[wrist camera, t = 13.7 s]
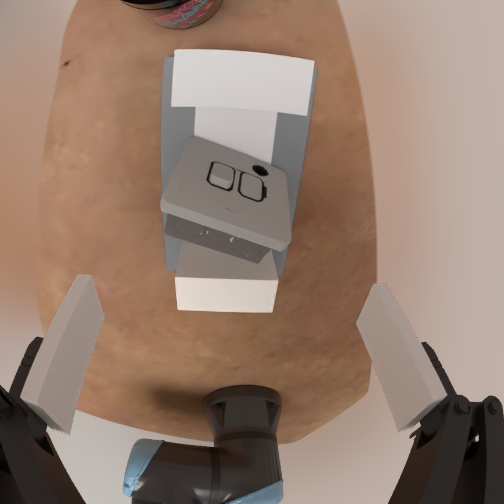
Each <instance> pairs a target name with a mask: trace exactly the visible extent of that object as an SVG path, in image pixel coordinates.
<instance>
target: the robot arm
mask: <svg viewBox="0 0 504 504" xmlns="http://www.w3.org/2000/svg"><path fill="white" fill-rule="evenodd" d="M104 318H105V317H104V314H103V311H102V308H101V305H100V302H99V298H98V295H97V292H96V288H95V285H94V281H93V277H92V275H86V274H78V275H77V276H76V278H75V280H74V281H73V283H72V285H71V287H70V289H69V290H68V292H67V294H66V296H65V298H64V300H63V301H62V303H61V305H60V307H59V309H58V311H57V313H56V315H55V317H54V319H53V321H52V323H51V325H50V327H49V329H48V331H47V333H46V335H45V337H44V338H41V337H36V338H35V339H34V340H33V341H32V342H31V343H30V344H29V346H28V348H27V350H26V352H25V354H24V357H23V359H22V361H21V365H20V366H19V368H18V371H17V373H16V375H15V378H14V380H13V383H12V385H11V388H10V391H9V393H8V392H7V391H6V390H5V389H4V388H3V387H2V386H1V385H0V504H86V503H85V501H84V500H83V498H82V497H81V495H80V493H79V492H78V490H77V489H76V487H75V485H74V483H73V482H72V480H71V478H70V477H69V475H68V473H67V471H66V469H65V468H64V466H63V464H62V462H61V460H60V458H59V456H58V454H57V452H56V450H55V448H54V445H53V443H52V441H51V439H50V437H49V435H48V433H47V432H46V428H47V425H48V426H49V427H50V428H51V429H53V431H56V432H59V433H62V434H66V435H70V431H71V426H72V422H73V417H74V414H75V410H76V406H77V402H78V399H79V395H80V391H81V388H82V384H83V381H84V378H85V374H86V371H87V368H88V365H89V362H90V358H91V355H92V352H93V349H94V346H95V343H96V341H97V338H98V335H99V332H100V329H101V327H102V324H103V321H104ZM356 325H357V327H358V330H359V332H360V334H361V337H362V339H363V341H364V344H365V346H366V348H367V351H368V353H369V356H370V358H371V361H372V363H373V366H374V368H375V370H376V373H377V375H378V378H379V381H380V383H381V386H382V388H383V391H384V394H385V396H386V399H387V402H388V404H389V407H390V410H391V412H392V415H393V418H394V421H395V423H396V427H397V429H398V432H400V431H403V430H406V429H409V428H412V427H413V426H415V425H416V424H417V423H418V422H419V421H420V424H421V427H419V428H418V429H417V430H416V431H414V432H413V433H412V434H411V435H410V437H409V438H412V437H413V436H415V435H416V437H415V439H414V443H413V446H412V449H411V452H410V454H409V457H408V459H407V462H406V465H405V467H404V469H403V472H402V474H401V476H400V479H399V481H398V483H397V485H396V488H395V490H394V492H393V494H392V496H391V498H390V500H389V503H388V504H504V415H503V408H502V404H501V402H500V401H499V399H498V398H496V397H495V396H488V397H487V398H486V399H484V400H483V401H482V402H470V401H469V400H468V399H467V398H466V397H464V396H463V395H457V394H456V392H455V390H454V388H453V386H452V384H451V382H450V380H449V378H448V376H447V374H446V373H445V370H444V369H443V368H442V365H441V363H440V361H438V357H437V355H436V354H435V352H434V350H433V349H432V348H431V347H430V346H429V345H428V344H427V343H426V342H422V343H421V342H420V341H419V339H418V337H417V335H416V333H415V332H414V330H413V328H412V326H411V325H410V323H409V321H408V319H407V318H406V316H405V314H404V312H403V311H402V309H401V308H400V306H399V304H398V302H397V301H396V299H395V298H394V296H393V294H392V293H391V291H390V289H389V288H388V286H387V285H386V284H373V285H372V288H371V290H370V292H369V295H368V297H367V299H366V302H365V304H364V306H363V308H362V311H361V313H360V315H359V317H358V320H357V322H356ZM281 408H282V406H281V399H280V396H279V395H278V394H277V393H276V392H275V391H273V390H271V389H268V388H264V387H258V386H234V387H228V388H223V389H220V390H217V391H215V392H213V393H211V394H210V395H208V396H207V397H206V399H205V402H204V411H205V415H206V418H207V421H208V423H209V426H210V429H211V431H212V434H213V437H214V447H207V446H196V445H186V444H179V443H172V442H166V441H164V440H152V439H139V440H138V441H136V442H135V444H134V445H133V448H132V450H131V453H130V456H129V459H128V463H127V467H126V472H125V476H124V485H123V493H124V494H125V495H127V496H129V497H131V496H132V504H278V503H279V502H280V501H281V500H282V499H283V480H282V473H281V466H280V459H279V452H278V445H277V438H276V432H277V427H278V423H279V419H280V414H281ZM477 435H479V441H477V442H476V440H475V437H476V436H477Z"/></svg>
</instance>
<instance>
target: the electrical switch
mask: <svg viewBox="0 0 504 504" xmlns="http://www.w3.org/2000/svg"><path fill="white" fill-rule="evenodd" d="M160 207H161V211H163V212H166V213H168V215H167V222H166V225H165V229H164V230H165V232H164V234H166V235H169V236H172V237H175V238H178V239H181V240H184V241H187V242H191V243H194V244H197V245H200V246H203V247H206V248H209V249H212V250H216V251H219V252H222V253H225V254H228V255H231V256H234V257H238V258H241V259H244V260H247V261H250V262H253V263H257V264H259V263H260V261H261V260H262V258H263V257H264V256H265V254H267V253H268V252H270V250H271V249H275V250H278V251H282V250H284V249H285V248H286V247H287V246H288V244H289V243H290V241H291V225H290V211H289V198H288V186H287V175H286V174H285V173H284V172H283V171H282V170H281V169H279V168H277V167H275V166H272V165H270V164H267V163H265V162H262V161H260V160H258V159H255V158H253V157H250V156H247V155H245V154H242V153H240V152H237V151H235V150H232V149H229V148H227V147H224V146H221V145H219V144H216V143H213V142H210V141H208V140H205V139H202V138H199V137H196V136H193V137H189V138H188V140H187V142H186V144H185V146H184V148H183V150H182V152H181V154H180V156H179V159H178V161H177V163H176V165H175V167H174V170H173V172H172V174H171V176H170V179H169V181H168V183H167V186H166V188H165V190H164V193H163V195H162V198H161V200H160ZM178 217H179V218H178ZM174 225H175V228H174ZM202 225H203V226H202ZM207 231H208V233H207ZM201 233H202V234H201ZM206 233H207V234H206ZM200 234H201V235H200ZM232 237H234V238H233V240H232V242H230V239H231V238H232ZM237 237H239V238H237ZM235 250H236V251H235Z"/></svg>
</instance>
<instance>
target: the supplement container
mask: <svg viewBox="0 0 504 504" xmlns="http://www.w3.org/2000/svg"><path fill="white" fill-rule="evenodd" d="M121 1H122V2H123V3H125V4H127V5H128V6H130V7H133V8H135V9H136V10H138V11H139V12H141V13H142V14H144V15H145V16H147V17H148V18H150V19H151V20H153V21H154V22H156V23H157V24H159V25H161V26H163V27H166V28H170V29H186V28H191V27H194V26H197V25H199V24H201V23H203V22H205V21H206V20H208V19H209V18H210V17H211V16H212V15H213V14H214V13H215V12H216V11H217V9H218V8H219V6H220V4H221V1H222V0H121Z"/></svg>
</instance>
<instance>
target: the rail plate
mask: <svg viewBox="0 0 504 504" xmlns="http://www.w3.org/2000/svg"><path fill="white" fill-rule="evenodd" d="M317 69H318V68H314V61H312V60H307V59H301V58H295V57H289V56H282V55H274V54H266V53H257V52H246V51H232V50H206V49H184V50H175V53H174V57H164V65H163V81H162V104H161V189H162V195H163V193H164V190H165V188H166V186H167V183H168V181H169V179H170V176H171V174H172V172H173V170H174V167H175V165H176V163H177V161H178V159H179V156H180V154H181V152H182V150H183V148H184V146H185V144H186V142H187V140H188V138H189V137H193V136H196V137H199V138H202V139H205V140H208V141H210V142H213V143H216V144H219V145H221V146H224V147H227V148H229V149H232V150H235V151H237V152H240V153H242V154H245V155H247V156H250V157H253V158H255V159H258V160H260V161H262V162H265V163H267V164H270V165H272V166H275V167H277V168H279V169H281V170H282V171H283V172H284V173H285V174H286V175H287V186H288V198H289V211H290V225H291V230H292V225H293V220H294V214H295V209H296V203H297V198H298V192H299V186H300V180H301V175H302V169H303V163H304V157H305V151H306V144H307V138H308V132H309V125H310V119H311V112H312V105H313V98H314V91H315V84H316V77H317ZM162 212H163V211H162ZM167 215H168V213H166V212H163V229H165V225H166V222H167ZM178 218H179V217H178ZM202 226H203V225H202ZM174 228H175V225H174ZM164 232H165V230H164ZM207 233H208V231H207ZM207 233H206V234H207ZM201 234H202V233H201ZM201 234H200V235H201ZM233 238H234V237H232V238H231V239H230V242H232V240H233ZM237 238H239V237H237ZM164 244H165V256H166V267H167V270H172V271H176V274H175V284H176V295H177V306H178V310H194V311H220V312H272V311H273V306H274V301H275V296H276V291H277V286H278V281H279V280H278V276H277V274H283V271H284V266H285V261H286V256H287V251H288V246H289V244H288V246H287V247H286V248H285V249H284V250H282V251H278V250H275V249H271V250H270V252H268V253H267V254H265V256H264V257H263V258H262V260H261V261H260V263H259V264H257V263H253V262H250V261H247V260H244V259H241V258H238V257H234V256H231V255H228V254H225V253H222V252H219V251H216V250H212V249H209V248H206V247H203V246H200V245H197V244H194V243H191V242H187V241H184V240H181V239H178V238H175V237H172V236H169V235H166V234H164ZM235 251H236V250H235Z"/></svg>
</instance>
